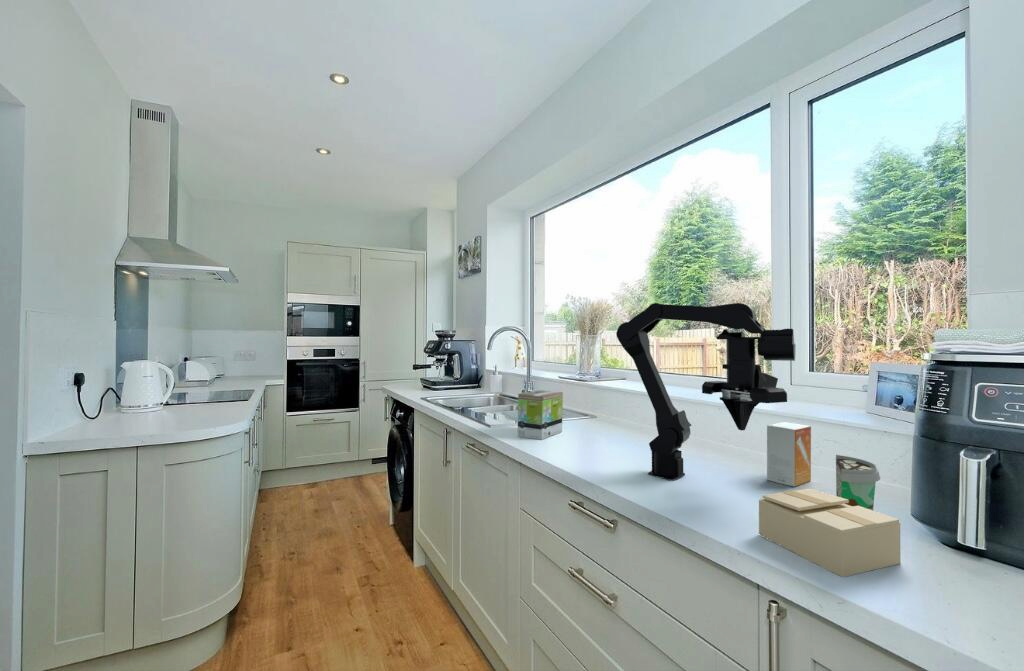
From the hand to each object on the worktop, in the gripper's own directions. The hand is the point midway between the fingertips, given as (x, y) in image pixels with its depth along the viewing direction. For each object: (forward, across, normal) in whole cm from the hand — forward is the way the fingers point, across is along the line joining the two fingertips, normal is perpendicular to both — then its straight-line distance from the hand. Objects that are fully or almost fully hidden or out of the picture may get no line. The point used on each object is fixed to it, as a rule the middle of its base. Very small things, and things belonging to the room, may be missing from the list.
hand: (741, 430), depth 99 cm
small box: (+13, +1, -15) cm, 20 cm away
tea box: (+13, +65, +23) cm, 71 cm away
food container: (+13, -19, -8) cm, 25 cm away
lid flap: (+7, -23, +9) cm, 26 cm away
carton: (+13, -26, +9) cm, 31 cm away
